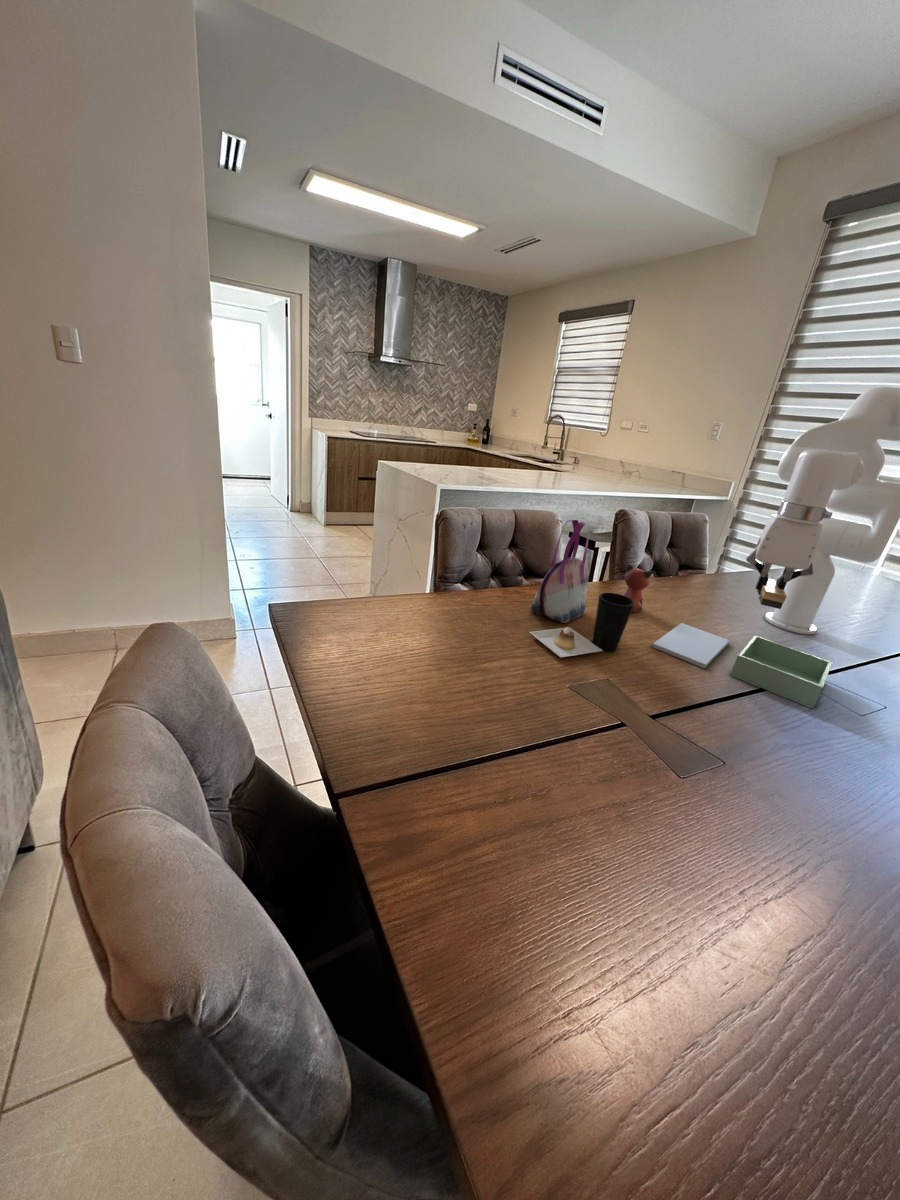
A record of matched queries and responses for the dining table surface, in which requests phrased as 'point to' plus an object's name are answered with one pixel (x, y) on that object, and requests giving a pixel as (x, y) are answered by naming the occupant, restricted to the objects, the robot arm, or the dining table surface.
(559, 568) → the handbag
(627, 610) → the cup
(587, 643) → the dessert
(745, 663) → the basket
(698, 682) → the dining table surface
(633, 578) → the stuffed fox
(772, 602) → the brush
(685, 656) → the mat
